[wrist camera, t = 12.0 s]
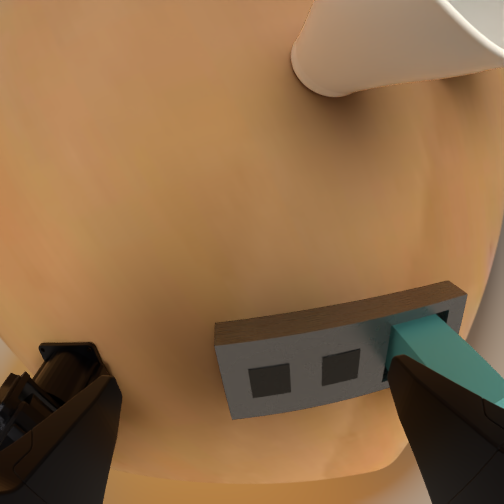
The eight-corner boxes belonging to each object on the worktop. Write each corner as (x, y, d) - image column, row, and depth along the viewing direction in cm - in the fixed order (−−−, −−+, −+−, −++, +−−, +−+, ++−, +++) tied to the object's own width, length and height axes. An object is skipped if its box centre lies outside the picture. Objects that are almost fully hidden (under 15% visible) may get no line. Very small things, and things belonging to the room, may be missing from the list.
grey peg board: (230, 395, 25) (232, 420, 22) (215, 323, 23) (214, 346, 20) (434, 349, 26) (449, 366, 23) (448, 280, 24) (468, 294, 21)
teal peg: (377, 354, 25) (444, 459, 13) (382, 313, 24) (468, 418, 12) (416, 342, 26) (490, 432, 13) (423, 303, 24) (514, 390, 12)
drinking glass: (340, 12, 16) (464, -96, 2) (385, 89, 18) (560, 54, 4) (259, 41, 17) (321, -119, 2) (309, 124, 19) (476, 86, 5)
